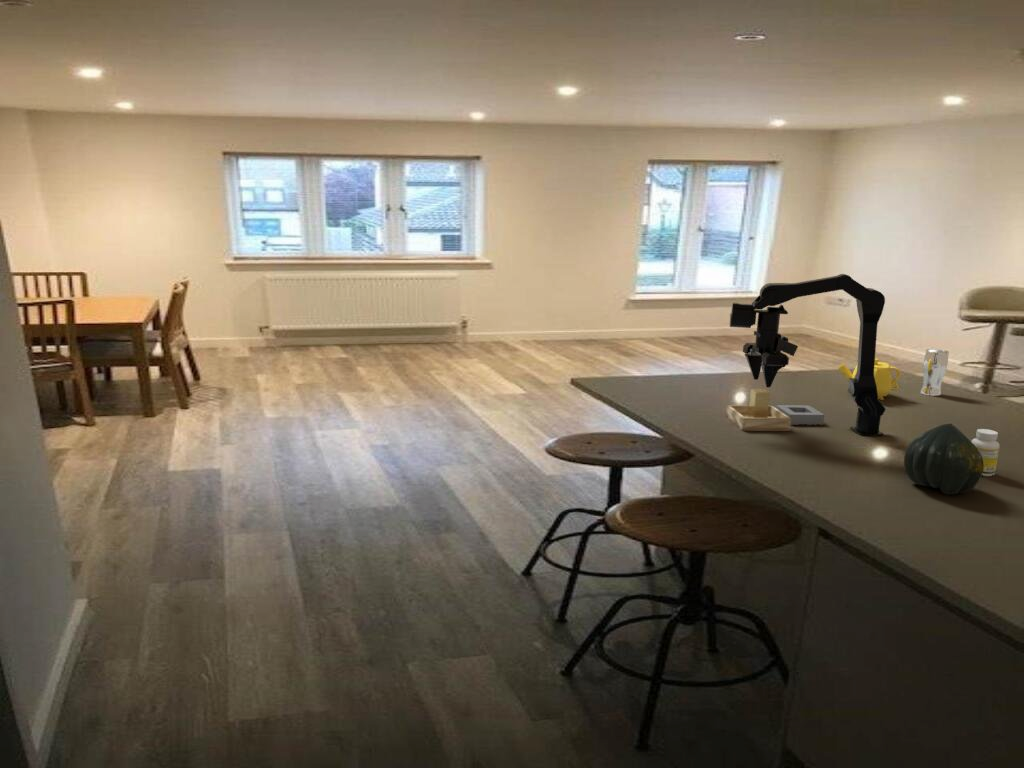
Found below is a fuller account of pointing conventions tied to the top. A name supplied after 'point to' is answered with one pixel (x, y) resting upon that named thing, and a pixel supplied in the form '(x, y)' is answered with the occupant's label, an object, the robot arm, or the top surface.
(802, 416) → the frame
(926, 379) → the beer glass
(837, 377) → the top surface
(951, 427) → the squash
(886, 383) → the teapot
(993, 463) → the supplement bottle
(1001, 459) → the top surface
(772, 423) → the tray
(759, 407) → the pin
